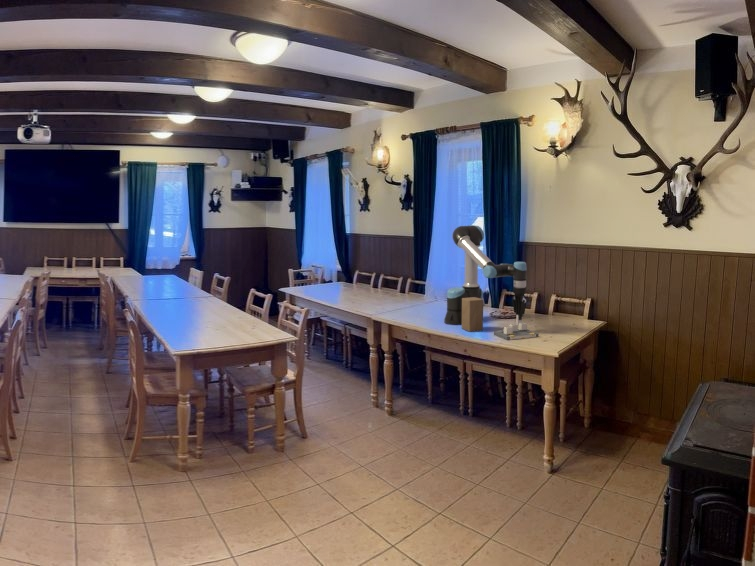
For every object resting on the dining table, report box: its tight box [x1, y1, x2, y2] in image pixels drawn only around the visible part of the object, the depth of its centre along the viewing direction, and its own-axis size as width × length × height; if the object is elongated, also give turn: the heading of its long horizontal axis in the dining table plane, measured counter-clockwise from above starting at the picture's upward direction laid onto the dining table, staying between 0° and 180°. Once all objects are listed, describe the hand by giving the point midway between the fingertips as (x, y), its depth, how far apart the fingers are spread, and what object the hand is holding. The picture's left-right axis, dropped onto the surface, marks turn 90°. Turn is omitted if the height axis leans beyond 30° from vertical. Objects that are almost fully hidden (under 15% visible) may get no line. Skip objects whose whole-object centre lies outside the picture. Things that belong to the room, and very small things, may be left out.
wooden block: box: [461, 297, 484, 333], centre depth 324 cm, size 10×10×20 cm
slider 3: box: [518, 322, 528, 330], centre depth 313 cm, size 3×4×4 cm
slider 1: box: [503, 325, 513, 335], centre depth 304 cm, size 3×4×4 cm
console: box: [493, 328, 539, 341], centre depth 309 cm, size 14×22×2 cm, turn 110°
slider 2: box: [508, 323, 519, 332], centre depth 311 cm, size 3×4×4 cm
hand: (518, 324), depth 317 cm, fingers closed
